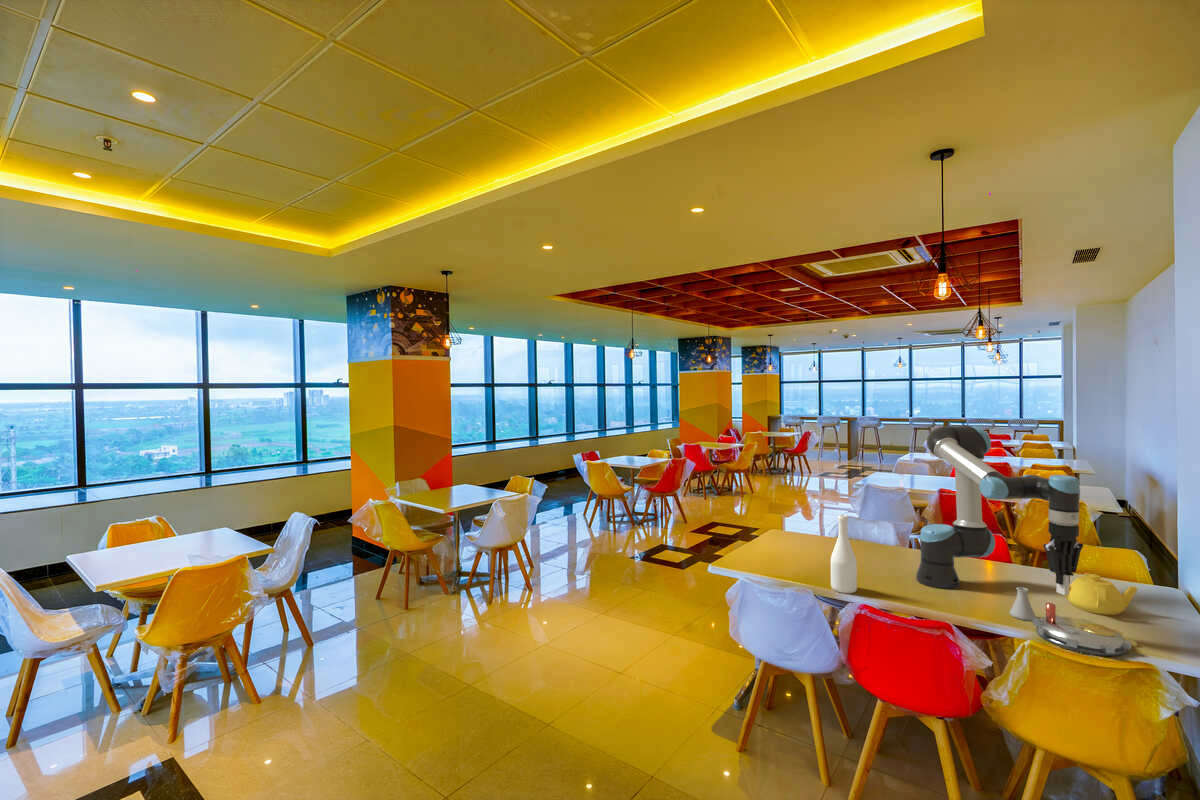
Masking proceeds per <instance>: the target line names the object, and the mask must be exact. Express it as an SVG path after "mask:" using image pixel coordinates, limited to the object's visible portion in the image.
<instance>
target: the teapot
mask: <svg viewBox="0 0 1200 800" xmlns="http://www.w3.org/2000/svg"><path fill="white" fill-rule="evenodd" d="M1054 578H1055V579H1056V576H1055V577H1054ZM1137 591H1138V587H1137V586H1129V587H1128V588H1127V589H1126V590H1125V591H1124V592H1123V593H1122V594H1121V592H1120V591H1119V590H1118V588H1117V587H1116V586H1115V585H1114V583H1113V582H1112V581H1109V580H1108V579H1104V578H1102V577H1101V575H1099V574H1094V573H1093V574H1092V573H1090V572H1088V573H1087V572H1083V576H1078V577H1077V578H1076V579H1074V580H1073V582H1072V583H1071V584H1069V595H1063V596H1064V597H1065V598H1066V599H1067V601H1068V602H1069V603H1070V604H1071V605H1072V606H1073V607H1075V608H1076V609H1078V610H1081V611H1084V612H1086V613H1087V612H1088V613H1092V614H1095V615H1096V614H1097V615H1103V616H1117V615H1120V614H1122V613H1123V612H1124V611H1125V610H1126V608H1128V606H1129V604H1130V602H1131V601H1132V600H1133V597H1134V596H1135V595H1136V593H1137Z"/></svg>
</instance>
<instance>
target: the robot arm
mask: <svg viewBox="0 0 1200 800" xmlns="http://www.w3.org/2000/svg"><path fill="white" fill-rule="evenodd" d="M991 441H992V440H991V437H990V436H989V434H988V432H987V431H986V430H985V429H983V428H982V427H981V426H975V425H974V426H973V425H958V426H957V425H956V426H955V425H954V426H951V425H950V426H948V425H947V426H939V427H936V428H934V429H933V430H931V431H930V433H929V434H928V436H927V438H926V446H927V449H928V450H929V451H930V453H931V454H932V455H933V456H935V457H936V458H937V459H940V460H945V461H946V462H947V463H948V464H950V465H951V466H953V467H954V474H955V475H954V477H955V500H956V502H955V506H956V520H954V521H953V522H952V525H949V524H944V523H943V524H942V523H941V524H940V523H932V524H926V525H924V526H923V527H922V528H921V529H920V537H919V538H920V539H919V540H920V563H919V566H918V568H917V571H916V574H915V575H916V576H915V577H916V578H915V579H916V581H917V582H918V583H920V584H923V585H924V586H928V587H931V588H938V589H946V590H948V589H949V590H950V589H952V590H953V589H957V588H959V587H960V578H959V576H958V573H957V570H956V568H955V558H976V559H977V558H983V557H984V558H986V557H988V556H990V555H992V554H993V552H994V550H995V548H996V538H995V536H994V534H993V532H992V531H991V530H990V529H989V528H988V525H987V524H986V523H985V522H984V521H983V510H982V496H983V497H984V498H986V499H989V500H999V501H1000V500H1031V499H1032V500H1033V499H1034V500H1035V499H1036V500H1037V499H1038V500H1043V501H1045V502H1048V519H1047V520H1049V522H1048V533H1049V534H1050V538H1049V542H1048V543H1044V544H1043V545H1042V546H1043V548H1044V550H1045V554H1046V558H1047V563H1048V568H1049V571H1050V572H1051V573H1055V577H1056V578H1055V583H1056V591H1055V592H1056V593H1057V594H1060V595H1062V596H1064V595H1069V586H1070V583H1071V577H1072V576H1074V575H1075V573H1076V572H1077V570H1078V569H1077V568H1078V565H1079V559H1080V556H1081V552H1082V549H1083V548H1084V544H1083V543H1081V542H1078V539H1077V538H1078V537H1079V536H1080V526H1079V525H1078V524H1079V523H1080V496H1081V495H1080V494H1081V488H1080V485H1081V484H1080V480H1079V478H1077V477H1075V476H1072V475H1065V474H1052V475H1050V476H1049V478H1046V477H1042V476H1038V475H1035V474H1024V475H1022V476H1005V475H1004V474H1002V473H1000V471H998V470H996V469H995V468H993V467H991V465H988V464H987V463H986V462H984V460H985V454H987V453H989V451H990V449H991V447H992V442H991Z"/></svg>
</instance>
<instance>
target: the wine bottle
mask: <svg viewBox="0 0 1200 800" xmlns="http://www.w3.org/2000/svg"><path fill="white" fill-rule="evenodd" d="M837 521H838V535H837V536H838V537H837V539H836V542H835V545H834V548H833V551H832V553H831V556H830V587H831V588H832V590H833V591H836V592H838V593H842V594H854V593H856V592H857V589H858V573H857V571H858V569H857V565H858V563H857V559H856V556H855V552H854V550H853V548H852V545H851V542H850V539H849V533H848V531H849V530H848V529H849V527H848V522H849V517H848V515H846V514H838V517H837Z"/></svg>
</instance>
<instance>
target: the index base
mask: <svg viewBox="0 0 1200 800" xmlns="http://www.w3.org/2000/svg"><path fill="white" fill-rule="evenodd" d="M1036 634H1037V635H1038V636H1039V637H1040V638H1042V639H1043V640H1044V641H1047V642H1048V643H1051V644H1053V645H1055V646H1058V647H1059V648H1060V647H1061V648H1063V649H1066V650H1069V651H1072V652H1073V651H1074V652H1076V653H1082V654H1084V655H1085V654H1086V655H1091V656H1099V657H1113V658H1114V657H1121V656H1123V655H1126V654H1127V651H1128V650H1127V649H1122V650H1119V651H1115V653H1105V652H1103V651H1096V650H1089V649H1084V648H1080V647H1077V648H1074V647H1070V646H1067V645H1066V644H1065V643H1062V642H1059V641H1057V640H1054V639H1052V638H1050V637H1048V636H1042V635H1041V634H1039V633H1038V626H1036ZM1123 638H1124V640H1126V641H1130V642H1131V647H1134V648H1135V647H1136V648H1137V647H1138V642H1136V641H1135V640H1133V639H1132V638H1129V637H1123Z"/></svg>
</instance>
